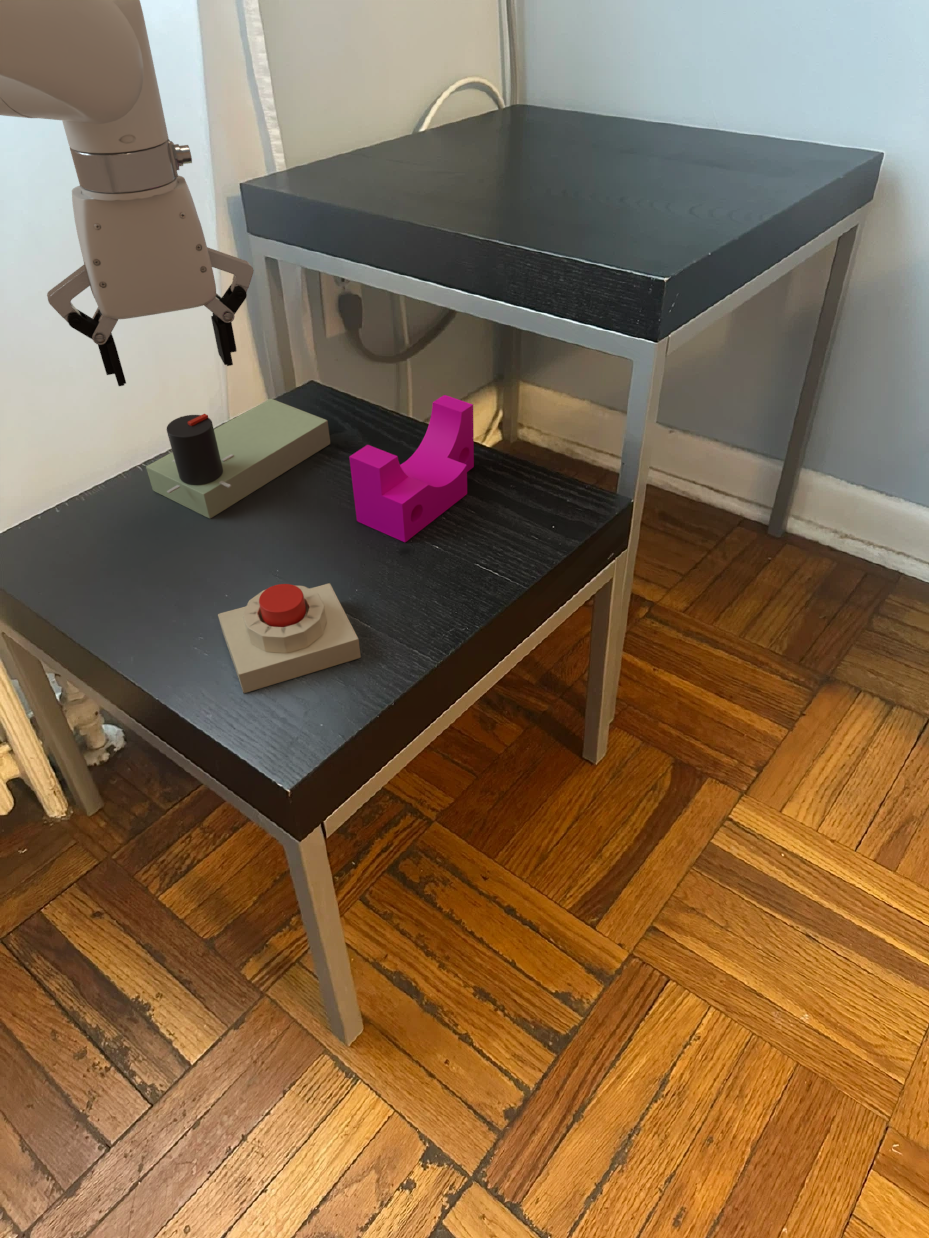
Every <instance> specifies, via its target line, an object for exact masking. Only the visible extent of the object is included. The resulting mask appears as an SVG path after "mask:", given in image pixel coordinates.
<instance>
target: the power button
mask: <svg viewBox="0 0 929 1238" xmlns="http://www.w3.org/2000/svg"><path fill="white" fill-rule="evenodd" d="M297 586H298V585H297ZM297 586H294V584H290V583H279V584H275V585H272V586H269V587H268V588H266V589H264V590H265V591H264V592H263V593H262V594H261V595H260V598H259V605H260V609H261V613H262V618H263V620H264V621H265V623H267V624H268V625H270V626H272V627H287V626H290V625H294V624H297V623H298V622H300V621H301V620H302V619H303V618H304V616H305V614H306V607H305V601H304V596H303V592H302V591H301V589H300V588H298V587H297Z"/></svg>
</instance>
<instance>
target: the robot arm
mask: <svg viewBox="0 0 929 1238" xmlns="http://www.w3.org/2000/svg"><path fill="white" fill-rule="evenodd" d="M148 35H149V34H148V29H147V26H146V21H145V16H144V11H143V7H142V3H141V0H0V116H4V117H15V118H26V119H42V120H54V121H62V125H63V129H64V132H65V136H66V140H67V143H68V146H69V151H70V155H71V159H72V162H73V165H74V169H75V173H76V176H77V180H78V183H79V185H77V186H75V187H74V188H72V190H71V201H72V208H73V209H72V210H73V218H74V224H75V229H76V234H77V239H78V244H79V248H80V252H81V257H82V261H83V264H82V265H81V266H79V268H77V269H76V270H75V271H73V272H72V273H71V274H70V275H67V277H66V278H64V279H62V280H61V281H60V282H59V283H57V284H56V285H55V286H54V287H52V288H51V289H50V290H49V291H47V293H46V296H47V301H48V304H49V305H50V306H51V307H52V309H54V310H55V312H56V313H58V315H59V316H61V318H62V319H63V320H64V321H66V322H67V324H68V325H69V327H70V328H72V329H73V330H75V331H77V332H79V333H80V334H82V335H83V336H86V337H87V338H89V339H90V340H92V341H93V342H94V344H96V345H97V347H98V350H99V351H98V352H99V354H100V357H101V362H102V364H103V367H104V370H105V374H106V376H111V375H114V376H115V379H116V382H117V386H118V387H123V386H125V384H127V380H126V378H125V372H124V370H123V367H122V362H121V359H120V356H119V352H118V349H117V344H116V342H115V339H114V336H113V333H112V332H113V330H114V329H115V327H116V325H117V323H118V322H119V320H127V319H135V318H140V317H149V316H154V315H159V314H165V313H170V312H179V311H184V310H189V309H194V308H195V309H196V308H199V307H203V306H204V307H205V308H206V309H207V310H209V311H210V312H211V313H212V315H210V318H211V323H212V328H213V334H214V338H215V339H214V340H215V343H216V349H217V352H218V356H219V358H220V359H221V361H222V363H223V365H225V366H226V367H232V366H233V365H234V363H233V358H232V354H233V353H237V351H238V350H237V345H236V344H237V343H236V339H235V335H234V329H233V323H232V322H233V321H234V320H235V314H237V312H238V311H239V309H240V308H241V306H242V305H243V303H244V302H245V301H246V299H247V293H248V289H249V287H250V285H251V281H252V278H253V275H254V271H255V269H254V267H253V266H252V265H251V264H250V262H249V261H248V260H245V259H242V258H239V257H236V256H233V255H230V254H228V253H225V252H222V251H220V250H216V249H214V248H211V247H209V246H208V245H207V242H206V237H205V235H204V230H203V227H202V223H201V221H200V218H199V215H198V212H197V208H196V205H195V202H194V199H193V196H192V193H191V191H190V188H189V186H188V183H187V181H186V179H185V177H183V176H181V175H179V174H178V171H180V167H184V165H186V164H187V165H188V164H193V157H192V153H191V152H192V151H191V149H190V146H189V144H184V145H183V144H182V145H179V143H176V144H175V143H174V142H173V141H172V140H170V139H169V134H168V129H167V123H166V119H165V113H164V109H163V104H162V99H161V93H160V89H159V84H158V83H159V82H158V79H157V75H156V70H155V64H154V60H153V55H152V49H151V45H150V40H149V36H148ZM214 269H217V270H219V271H222V272H226V273H229V274H231V275H233V277H232V282H231V284H230V285H229V286H228V288H227V290H225V292H224V293H223V295H222V296H220V295H219V294H218V293H217V285H216V284H217V283H216V279H215V274H214ZM89 287H90V291H91V293H92V296H93V298H94V300H95V303H96V305H97V308H96V310H95V312H94V314H93V316H89V315H87V314H86V313H85V312H82V311H81V310H79V309H77V308H76V307H75V305H74V304H73V303H72V300H73V299H74V298H76V297H77V296H78V295H80V294H81V293H82V292H83V291H85V290H86V289H88V288H89Z"/></svg>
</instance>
